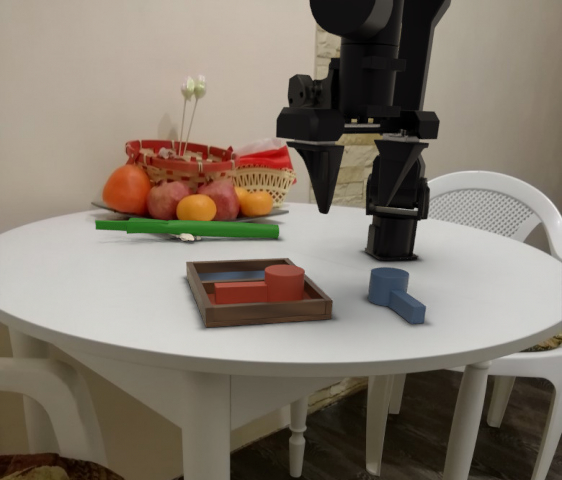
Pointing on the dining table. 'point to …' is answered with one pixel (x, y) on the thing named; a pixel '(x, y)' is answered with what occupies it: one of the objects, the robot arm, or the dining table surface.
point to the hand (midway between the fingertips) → (354, 209)
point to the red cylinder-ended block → (264, 287)
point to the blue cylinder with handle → (395, 293)
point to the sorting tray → (253, 270)
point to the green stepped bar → (191, 228)
